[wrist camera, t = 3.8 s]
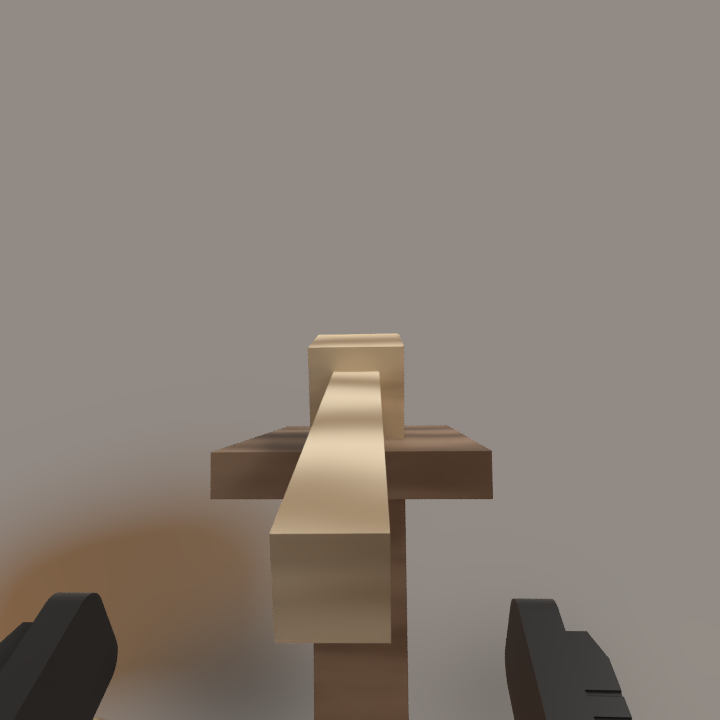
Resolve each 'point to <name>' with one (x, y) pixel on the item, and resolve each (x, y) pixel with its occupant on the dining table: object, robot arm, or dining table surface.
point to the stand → (404, 481)
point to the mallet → (340, 498)
